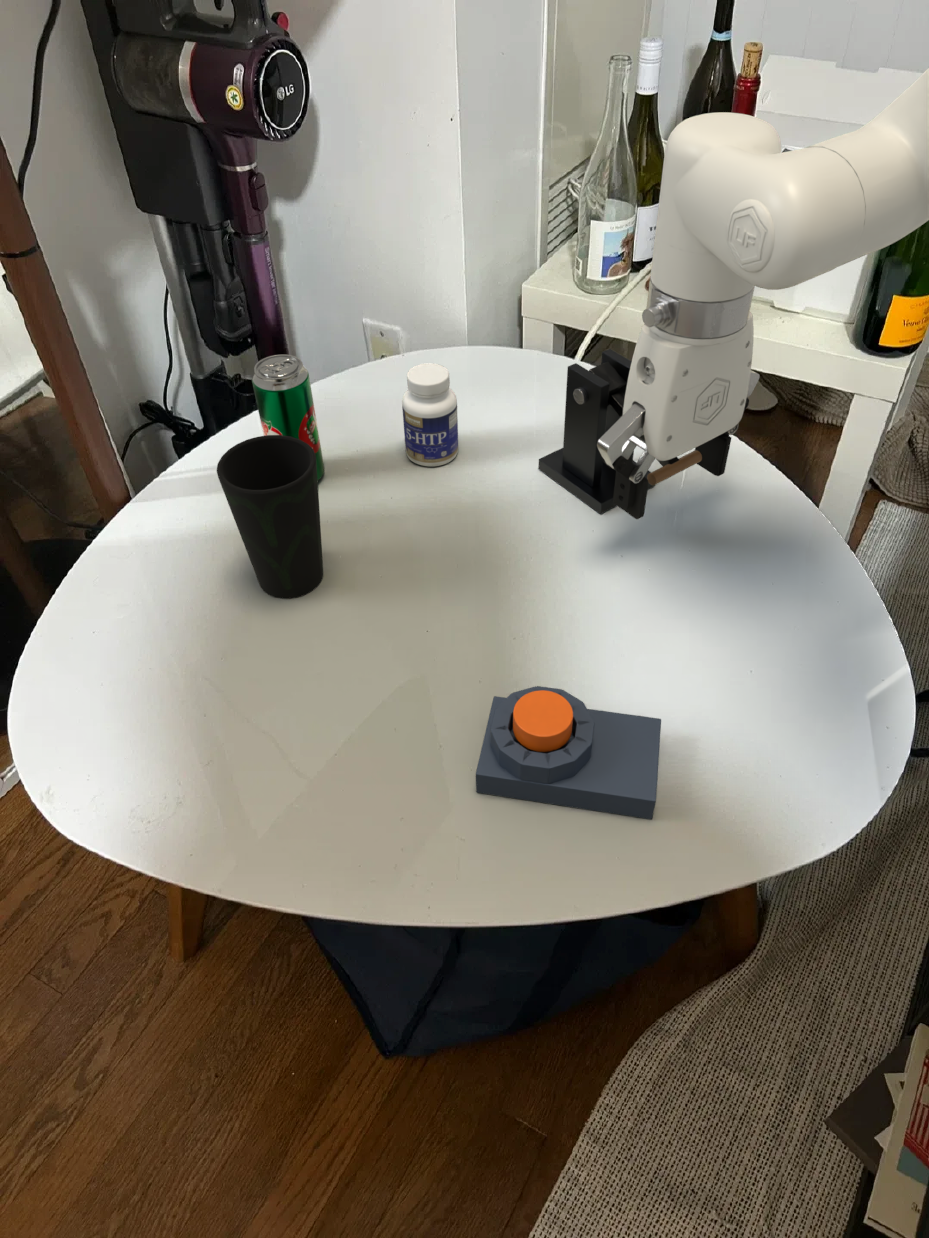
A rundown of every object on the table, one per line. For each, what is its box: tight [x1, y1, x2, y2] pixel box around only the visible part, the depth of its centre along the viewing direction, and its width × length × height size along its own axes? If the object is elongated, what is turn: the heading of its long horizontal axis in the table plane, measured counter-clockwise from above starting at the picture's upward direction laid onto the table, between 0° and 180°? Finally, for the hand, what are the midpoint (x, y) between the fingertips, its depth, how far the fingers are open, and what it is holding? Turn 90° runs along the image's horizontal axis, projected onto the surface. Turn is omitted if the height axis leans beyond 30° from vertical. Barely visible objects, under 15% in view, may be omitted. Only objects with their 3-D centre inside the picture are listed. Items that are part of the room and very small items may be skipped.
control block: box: [475, 685, 662, 820], centre depth 64 cm, size 12×7×4 cm, turn 79°
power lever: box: [588, 362, 702, 486], centre depth 80 cm, size 12×6×2 cm, turn 36°
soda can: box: [251, 354, 325, 481], centre depth 86 cm, size 5×5×12 cm
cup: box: [216, 435, 324, 600], centre depth 76 cm, size 8×8×12 cm
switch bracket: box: [537, 348, 656, 515], centre depth 84 cm, size 9×7×12 cm
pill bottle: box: [401, 362, 459, 467], centre depth 89 cm, size 5×5×9 cm
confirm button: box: [513, 690, 573, 752], centre depth 62 cm, size 4×4×2 cm
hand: (668, 488), depth 81 cm, fingers open, 9 cm apart
